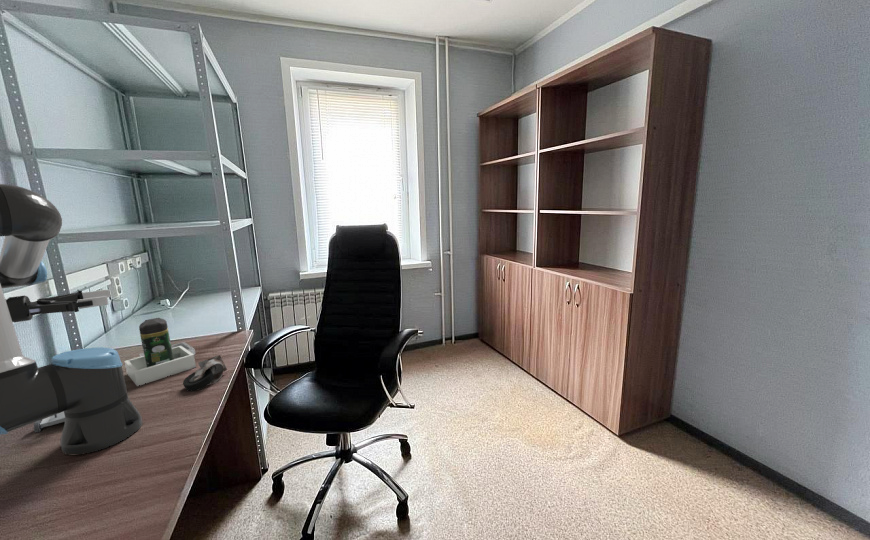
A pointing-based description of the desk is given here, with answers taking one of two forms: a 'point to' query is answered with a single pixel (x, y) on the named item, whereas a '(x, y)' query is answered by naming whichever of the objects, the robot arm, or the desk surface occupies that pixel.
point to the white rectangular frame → (179, 345)
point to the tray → (159, 367)
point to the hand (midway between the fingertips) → (108, 296)
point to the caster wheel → (205, 374)
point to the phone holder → (49, 421)
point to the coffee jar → (155, 341)
